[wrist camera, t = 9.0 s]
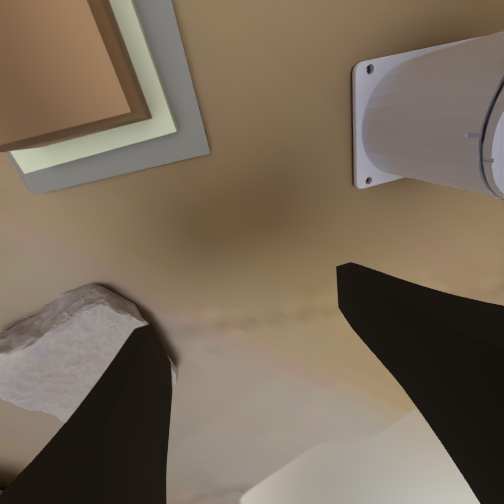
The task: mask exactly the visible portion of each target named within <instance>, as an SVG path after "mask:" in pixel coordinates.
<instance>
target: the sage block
mask: <svg viewBox="0 0 504 504" xmlns="http://www.w3.org/2000/svg"><path fill="white" fill-rule="evenodd" d="M109 1H110V4H111V7H112V9H113V12H114V15H115V17H116V20H117V23H118V26H119V28H120V31H121V34H122V37H123V39H124V42H125V45H126V47H127V50H128V53H129V56H130V58H131V61H132V64H133V67H134V69H135V72H136V75H137V77H138V80H139V83H140V86H141V88H142V91H143V94H144V96H145V99H146V102H147V105H148V107H149V110H150V113H151V116H152V119H148V120H144V121H141V122H137V123H133V124H129V125H125V126H121V127H117V128H113V129H109V130H106V131H102V132H98V133H94V134H90V135H86V136H82V137H78V138H75V139H71V140H67V141H63V142H59V143H55V144H51V145H47V146H43V147H40V148H31V149H23V150H15V151H10V152H11V154H12V155H13V157H14V158H15V160H16V162H17V163H18V165H19V166H20V168H21V169H22V171H23V172H24V174H26V173H30V172H33V171H37V170H40V169H44V168H48V167H51V166H55V165H58V164H62V163H66V162H69V161H73V160H76V159H80V158H84V157H87V156H91V155H94V154H98V153H102V152H105V151H109V150H112V149H116V148H120V147H123V146H127V145H130V144H134V143H138V142H141V141H145V140H148V139H152V138H156V137H159V136H163V135H166V134H170V133H174V132H177V131H178V128H177V125H176V122H175V119H174V116H173V114H172V111H171V108H170V105H169V102H168V99H167V96H166V93H165V90H164V87H163V84H162V82H161V79H160V76H159V73H158V70H157V67H156V64H155V61H154V58H153V55H152V52H151V50H150V47H149V44H148V41H147V38H146V35H145V32H144V29H143V26H142V23H141V20H140V17H139V15H138V12H137V9H136V6H135V3H134V0H109Z"/></svg>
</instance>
